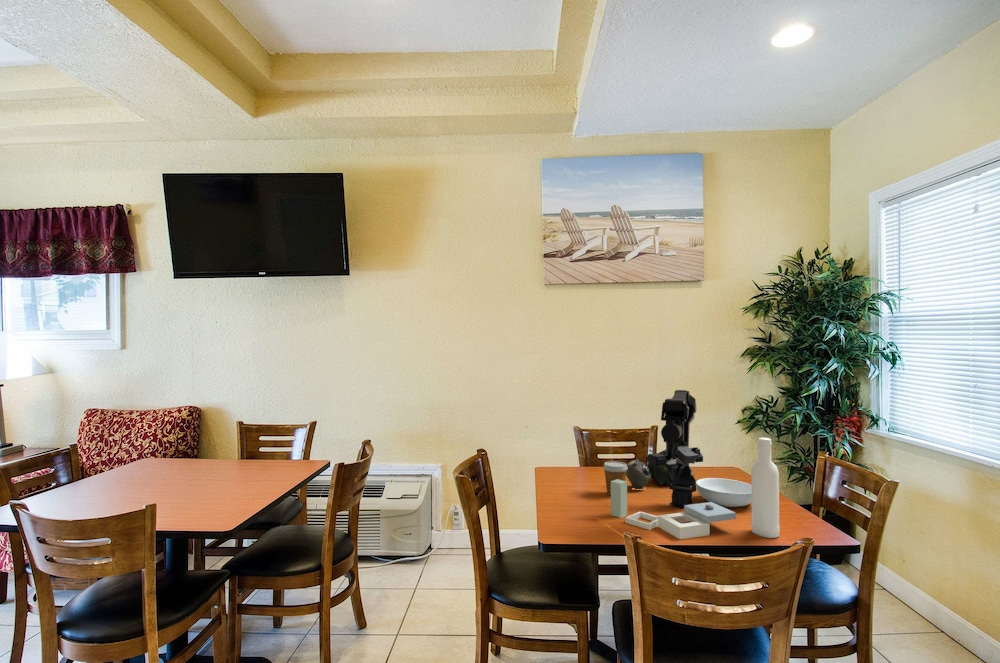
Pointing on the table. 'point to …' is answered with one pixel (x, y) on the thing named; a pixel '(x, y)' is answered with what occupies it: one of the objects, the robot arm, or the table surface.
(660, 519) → the lidded well
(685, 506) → the lid
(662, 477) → the squash
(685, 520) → the walnut block
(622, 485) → the sage post
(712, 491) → the serving bowl
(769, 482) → the bottle
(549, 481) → the table surface
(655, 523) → the post well
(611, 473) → the disposable coffee cup
